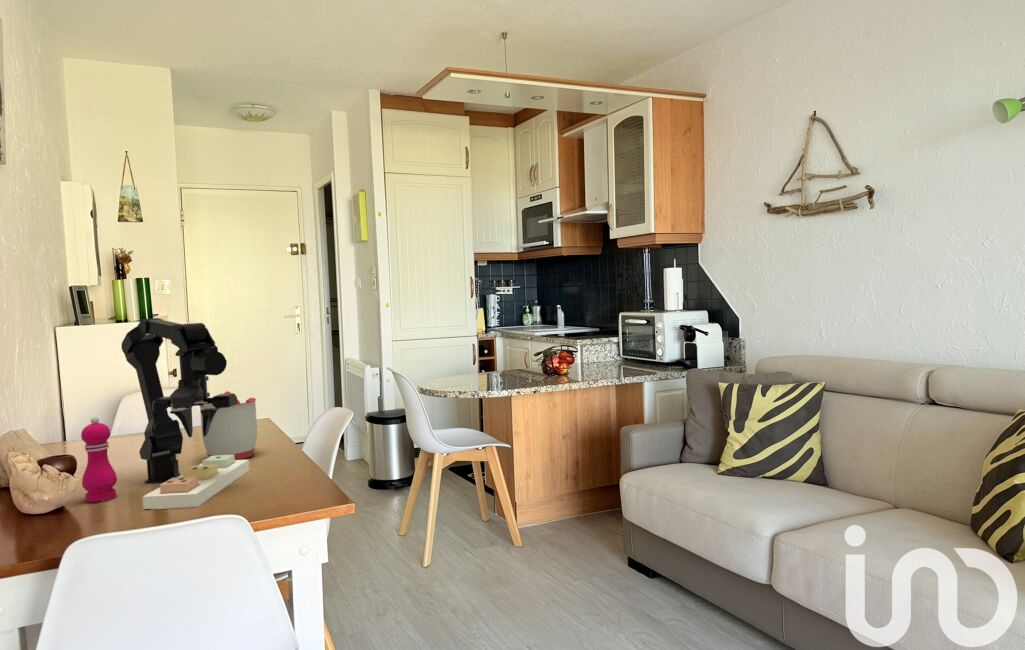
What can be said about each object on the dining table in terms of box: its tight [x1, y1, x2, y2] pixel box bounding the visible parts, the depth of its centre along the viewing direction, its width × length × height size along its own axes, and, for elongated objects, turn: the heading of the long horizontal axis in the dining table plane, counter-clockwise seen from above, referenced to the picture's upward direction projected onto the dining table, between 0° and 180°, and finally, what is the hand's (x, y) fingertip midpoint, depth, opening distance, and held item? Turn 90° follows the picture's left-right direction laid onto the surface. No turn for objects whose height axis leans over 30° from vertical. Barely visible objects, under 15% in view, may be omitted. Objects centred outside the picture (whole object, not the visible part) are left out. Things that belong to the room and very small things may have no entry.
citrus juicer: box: [199, 390, 258, 460], centre depth 204 cm, size 16×17×20 cm
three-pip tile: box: [159, 476, 199, 494], centre depth 160 cm, size 6×6×2 cm
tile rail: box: [142, 459, 250, 510], centre depth 171 cm, size 12×32×3 cm, turn 1°
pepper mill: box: [80, 416, 118, 503], centre depth 165 cm, size 7×7×20 cm
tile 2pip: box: [181, 465, 218, 480], centre depth 171 cm, size 6×6×2 cm
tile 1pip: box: [201, 455, 235, 468], centre depth 182 cm, size 6×6×2 cm
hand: (197, 436), depth 170 cm, fingers open, 3 cm apart
